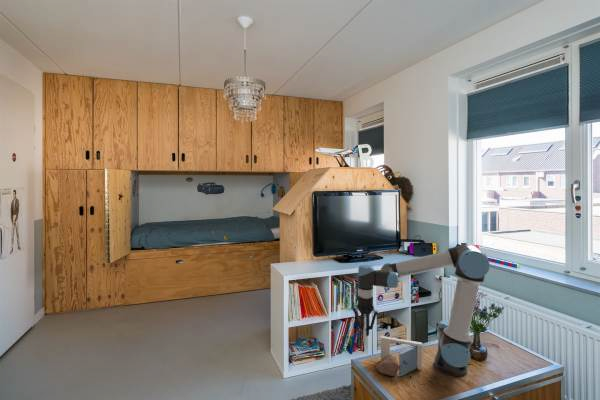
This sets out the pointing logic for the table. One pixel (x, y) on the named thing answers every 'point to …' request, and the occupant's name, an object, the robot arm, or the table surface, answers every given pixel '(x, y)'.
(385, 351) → the wall frame
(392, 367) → the stone
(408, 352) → the door
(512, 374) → the table surface
